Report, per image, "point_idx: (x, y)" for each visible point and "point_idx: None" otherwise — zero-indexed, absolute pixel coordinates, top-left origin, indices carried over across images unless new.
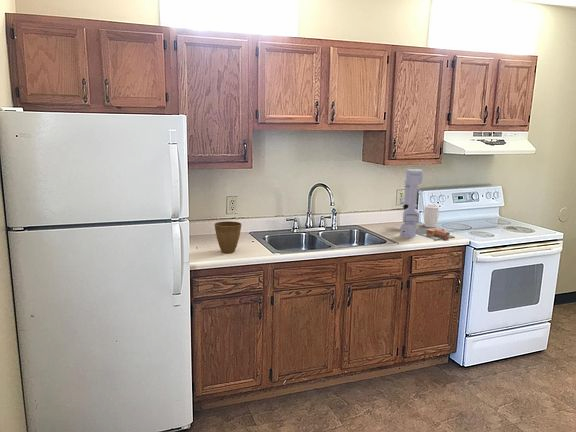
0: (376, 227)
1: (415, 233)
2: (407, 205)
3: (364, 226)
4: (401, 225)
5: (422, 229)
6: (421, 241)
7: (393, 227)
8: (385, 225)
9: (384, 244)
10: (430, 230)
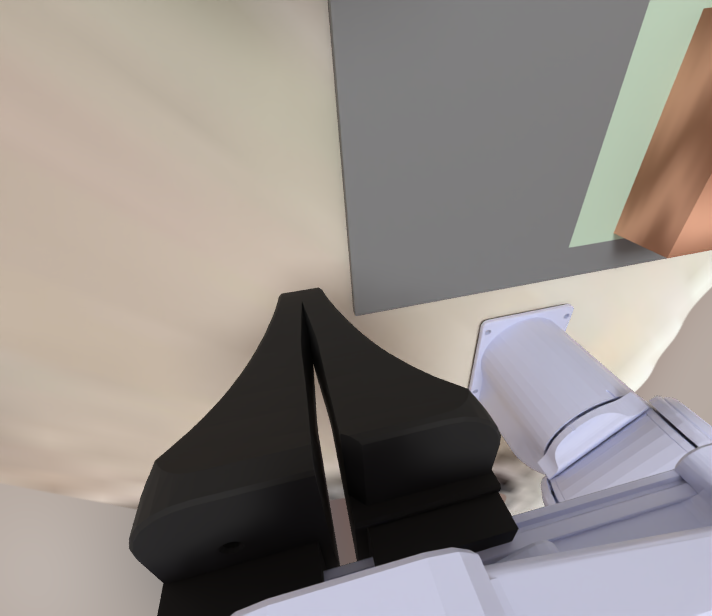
0: (153, 438)
1: (508, 273)
2: (324, 577)
3: (103, 495)
4: (530, 467)
5: (432, 38)
6: (631, 339)
7: (170, 311)
8: (40, 343)
9: (525, 488)
10: (709, 242)
